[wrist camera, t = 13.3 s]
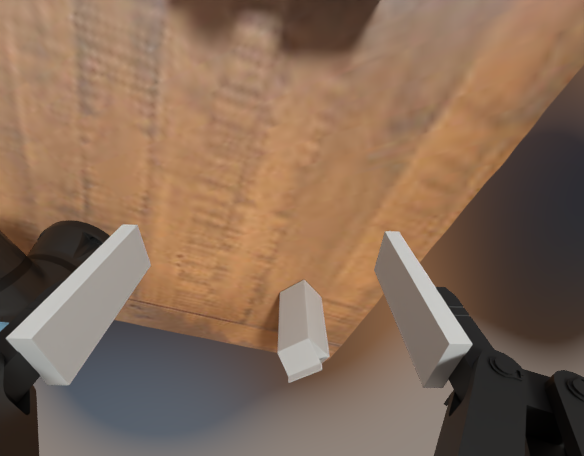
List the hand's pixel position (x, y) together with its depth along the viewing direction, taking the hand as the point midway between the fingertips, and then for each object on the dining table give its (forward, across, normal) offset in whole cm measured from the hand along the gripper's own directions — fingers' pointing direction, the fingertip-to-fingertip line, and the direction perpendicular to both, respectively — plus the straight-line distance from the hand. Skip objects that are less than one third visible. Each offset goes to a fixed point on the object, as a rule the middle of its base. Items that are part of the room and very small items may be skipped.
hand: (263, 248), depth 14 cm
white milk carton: (+32, +5, -37) cm, 49 cm away
